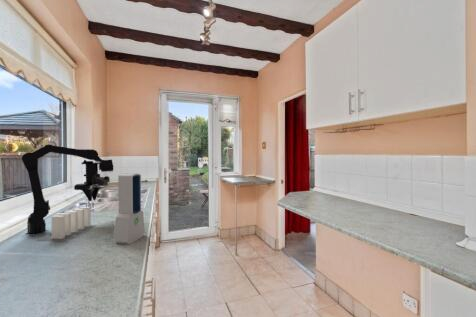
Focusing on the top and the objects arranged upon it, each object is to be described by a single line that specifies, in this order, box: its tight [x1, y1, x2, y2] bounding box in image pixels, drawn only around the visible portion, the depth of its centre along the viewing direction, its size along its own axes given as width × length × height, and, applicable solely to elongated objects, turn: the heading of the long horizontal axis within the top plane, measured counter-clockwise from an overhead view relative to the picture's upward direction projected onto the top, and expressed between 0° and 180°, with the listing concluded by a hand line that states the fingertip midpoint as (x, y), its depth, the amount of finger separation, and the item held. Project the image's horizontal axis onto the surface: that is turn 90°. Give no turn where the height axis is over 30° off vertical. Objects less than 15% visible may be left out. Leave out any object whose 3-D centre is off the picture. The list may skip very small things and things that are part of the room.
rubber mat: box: [36, 224, 99, 243], centre depth 114 cm, size 12×24×1 cm, turn 175°
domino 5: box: [78, 206, 92, 227], centre depth 124 cm, size 5×2×10 cm, turn 85°
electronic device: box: [112, 173, 146, 245], centre depth 106 cm, size 12×8×30 cm, turn 168°
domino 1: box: [51, 215, 65, 239], centre depth 106 cm, size 5×2×10 cm, turn 85°
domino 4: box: [72, 208, 85, 229], centre depth 120 cm, size 5×2×10 cm, turn 85°
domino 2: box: [57, 212, 71, 235], centre depth 111 cm, size 5×2×10 cm, turn 85°
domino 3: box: [65, 210, 78, 232], centre depth 115 cm, size 5×2×10 cm, turn 85°
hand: (92, 200), depth 129 cm, fingers open, 3 cm apart
